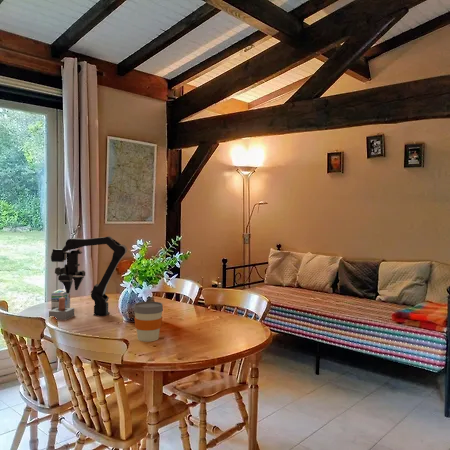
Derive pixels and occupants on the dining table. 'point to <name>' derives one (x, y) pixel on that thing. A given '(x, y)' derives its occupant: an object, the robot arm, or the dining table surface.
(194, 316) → the dining table surface
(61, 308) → the peg
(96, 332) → the dining table surface
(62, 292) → the light bulb box
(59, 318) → the hole block
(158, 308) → the reusable coffee cup
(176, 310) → the dining table surface
